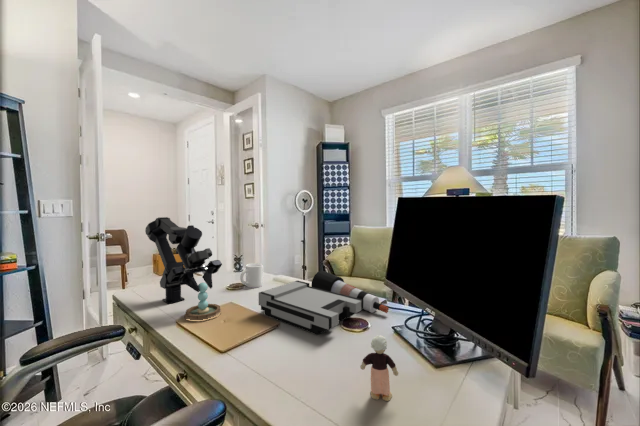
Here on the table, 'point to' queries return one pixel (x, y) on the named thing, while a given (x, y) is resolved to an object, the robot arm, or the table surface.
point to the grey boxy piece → (308, 306)
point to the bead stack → (202, 299)
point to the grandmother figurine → (379, 369)
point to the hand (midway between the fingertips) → (205, 289)
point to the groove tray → (194, 315)
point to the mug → (253, 275)
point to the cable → (346, 290)
